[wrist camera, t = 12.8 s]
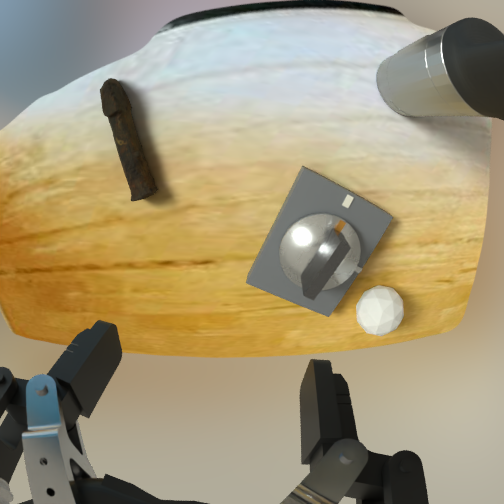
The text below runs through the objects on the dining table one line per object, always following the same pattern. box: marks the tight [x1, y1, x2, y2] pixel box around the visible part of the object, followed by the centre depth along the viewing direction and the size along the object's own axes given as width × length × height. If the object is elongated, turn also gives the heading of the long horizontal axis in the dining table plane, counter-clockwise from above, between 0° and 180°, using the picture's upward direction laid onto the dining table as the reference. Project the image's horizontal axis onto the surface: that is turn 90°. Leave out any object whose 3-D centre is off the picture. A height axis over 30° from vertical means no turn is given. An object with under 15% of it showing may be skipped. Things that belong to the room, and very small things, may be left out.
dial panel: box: [246, 166, 393, 317], centre depth 39 cm, size 18×14×3 cm
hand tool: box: [100, 78, 158, 201], centre depth 34 cm, size 19×4×5 cm, turn 13°
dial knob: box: [279, 213, 361, 301], centre depth 35 cm, size 11×11×6 cm
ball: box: [356, 285, 404, 336], centre depth 40 cm, size 8×8×8 cm
